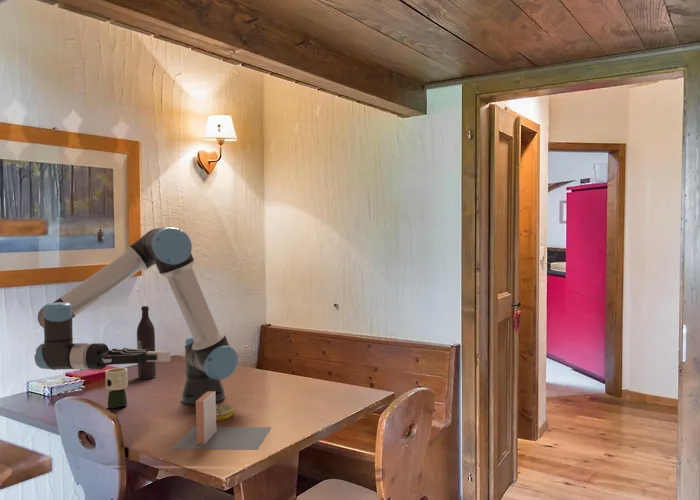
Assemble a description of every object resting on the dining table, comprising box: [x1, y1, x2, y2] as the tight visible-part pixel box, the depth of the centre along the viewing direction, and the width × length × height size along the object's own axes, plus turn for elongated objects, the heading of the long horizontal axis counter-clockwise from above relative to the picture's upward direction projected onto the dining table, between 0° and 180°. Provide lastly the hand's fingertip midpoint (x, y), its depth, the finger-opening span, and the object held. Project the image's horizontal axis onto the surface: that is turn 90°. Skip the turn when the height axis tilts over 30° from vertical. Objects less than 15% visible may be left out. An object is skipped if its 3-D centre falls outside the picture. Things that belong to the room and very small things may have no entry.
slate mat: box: [171, 426, 272, 451], centre depth 166 cm, size 18×24×1 cm
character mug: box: [104, 367, 129, 409], centre depth 199 cm, size 11×7×13 cm, turn 34°
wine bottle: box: [136, 305, 157, 379], centre depth 241 cm, size 7×7×30 cm
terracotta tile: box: [195, 391, 217, 444], centre depth 166 cm, size 10×2×12 cm, turn 176°
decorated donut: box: [216, 403, 234, 422], centre depth 185 cm, size 10×11×4 cm
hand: (169, 356), depth 166 cm, fingers closed
